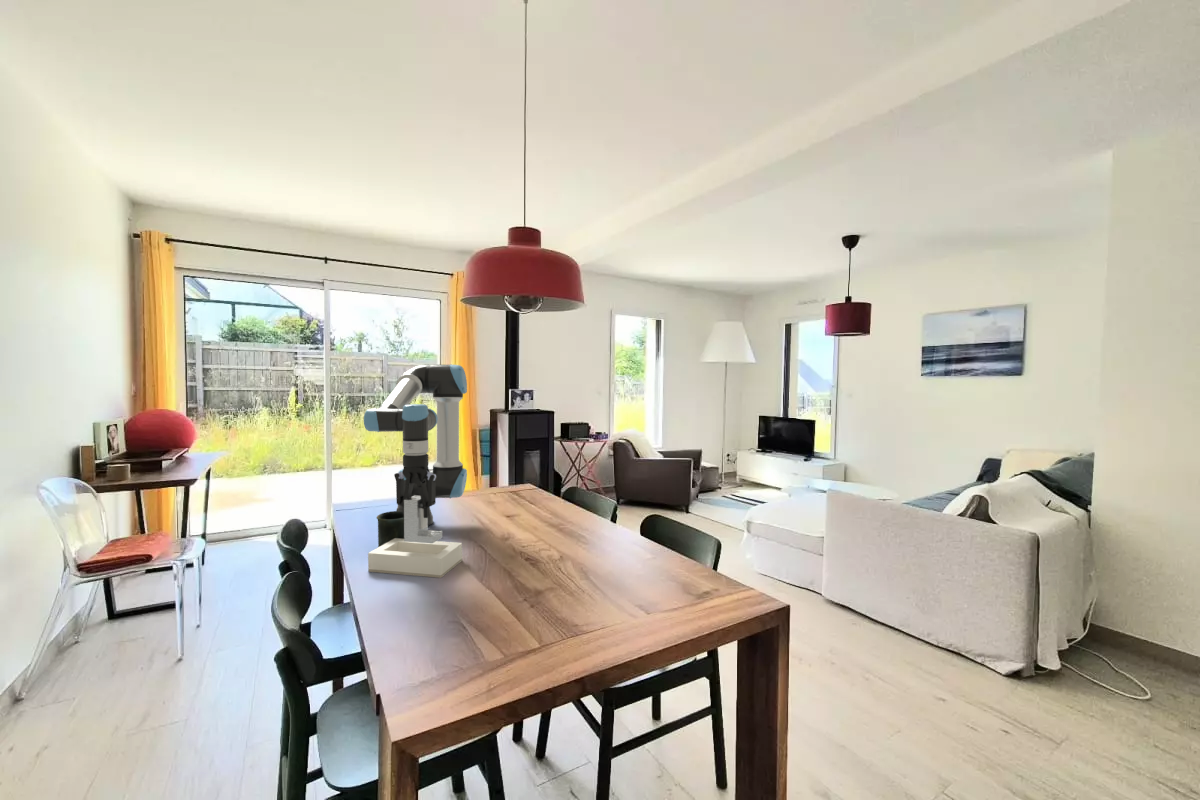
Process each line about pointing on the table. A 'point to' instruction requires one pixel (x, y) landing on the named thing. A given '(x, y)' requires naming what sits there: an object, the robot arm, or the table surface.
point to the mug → (390, 526)
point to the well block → (415, 558)
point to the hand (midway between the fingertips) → (416, 527)
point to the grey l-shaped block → (417, 523)
